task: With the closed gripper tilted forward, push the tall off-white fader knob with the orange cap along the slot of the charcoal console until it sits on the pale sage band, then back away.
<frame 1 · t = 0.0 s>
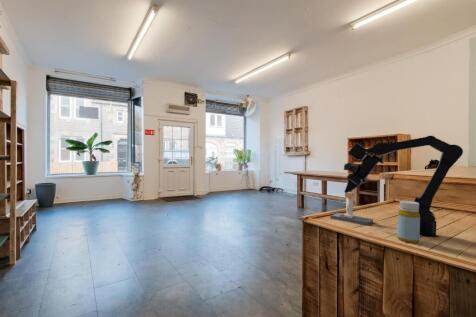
hand: (347, 191, 120), 15 cm above the table, tool tilted 35°, fingers open, 9 cm apart
console: (351, 220, 122), on the table
bottle: (407, 240, 94), on the table
fader knob: (349, 204, 123), point 8 cm above the table, slide at 0.0 cm
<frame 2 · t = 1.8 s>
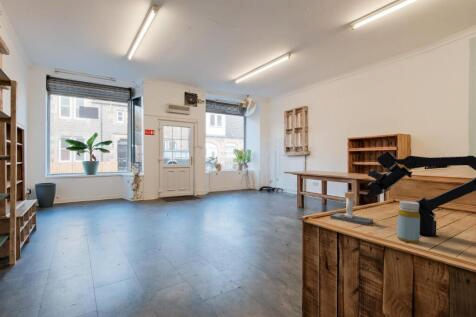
hand: (366, 197, 118), 13 cm above the table, tool tilted 45°, fingers closed
nothing on the table moved.
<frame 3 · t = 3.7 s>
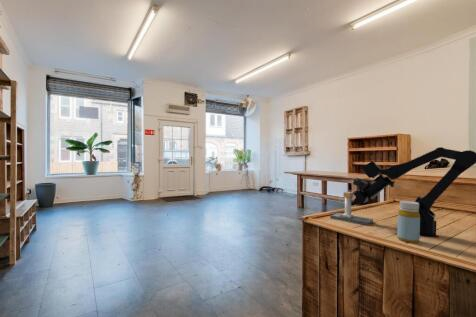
hand: (351, 204, 122), 8 cm above the table, tool tilted 45°, fingers closed, pressing on fader knob
fader knob: (348, 204, 123), point 8 cm above the table, slide at 0.7 cm, touching gripper
everything else where it was.
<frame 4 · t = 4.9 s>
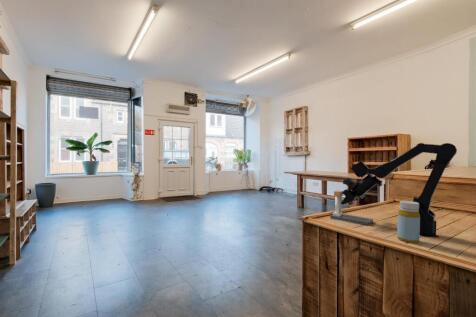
hand: (341, 203, 126), 8 cm above the table, tool tilted 45°, fingers closed, pressing on fader knob
fader knob: (338, 202, 127), point 8 cm above the table, slide at 5.7 cm, touching gripper
everything else where it was.
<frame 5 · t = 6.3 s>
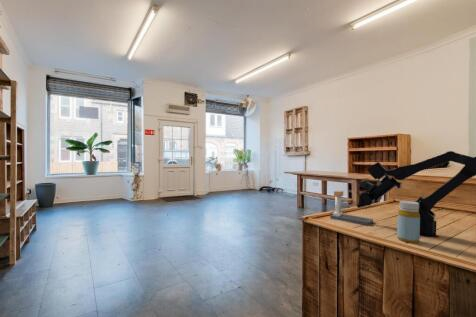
hand: (357, 207, 120), 7 cm above the table, tool tilted 45°, fingers closed
fader knob: (338, 202, 127), point 8 cm above the table, slide at 5.7 cm
everything else where it was.
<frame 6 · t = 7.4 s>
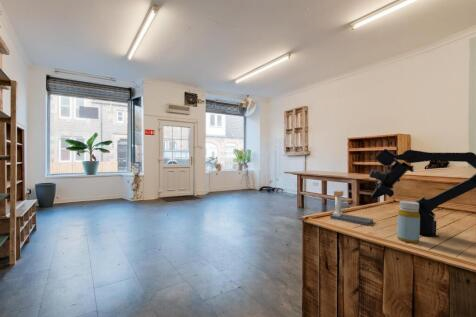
hand: (371, 198, 116), 13 cm above the table, tool tilted 35°, fingers closed
nothing on the table moved.
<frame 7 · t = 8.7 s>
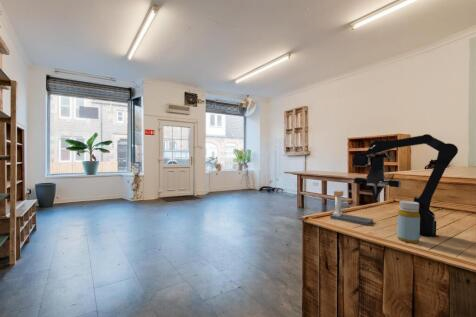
hand: (375, 200, 114), 12 cm above the table, tool pointing down, fingers closed
nothing on the table moved.
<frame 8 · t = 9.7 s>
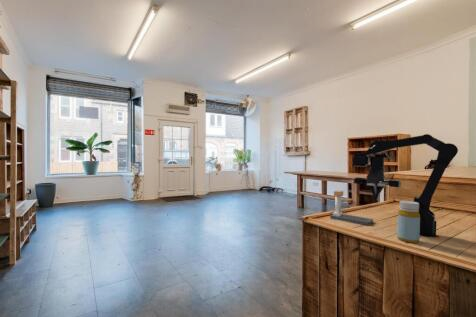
hand: (375, 200, 114), 12 cm above the table, tool pointing down, fingers closed
nothing on the table moved.
at the end: fader knob slide at 5.7 cm; bottle moved 0.2 cm from its start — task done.
